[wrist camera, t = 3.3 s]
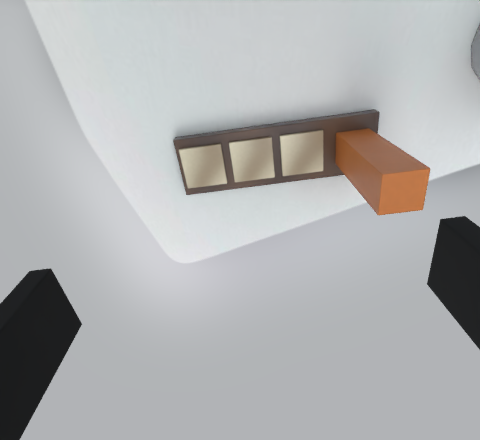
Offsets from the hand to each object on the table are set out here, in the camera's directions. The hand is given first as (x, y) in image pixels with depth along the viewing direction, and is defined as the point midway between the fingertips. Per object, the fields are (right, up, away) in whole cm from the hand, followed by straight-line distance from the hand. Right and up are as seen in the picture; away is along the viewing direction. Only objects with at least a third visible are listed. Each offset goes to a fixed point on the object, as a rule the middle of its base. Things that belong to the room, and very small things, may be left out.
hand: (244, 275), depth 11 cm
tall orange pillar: (+11, +9, +20) cm, 25 cm away
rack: (+4, +9, +22) cm, 24 cm away
